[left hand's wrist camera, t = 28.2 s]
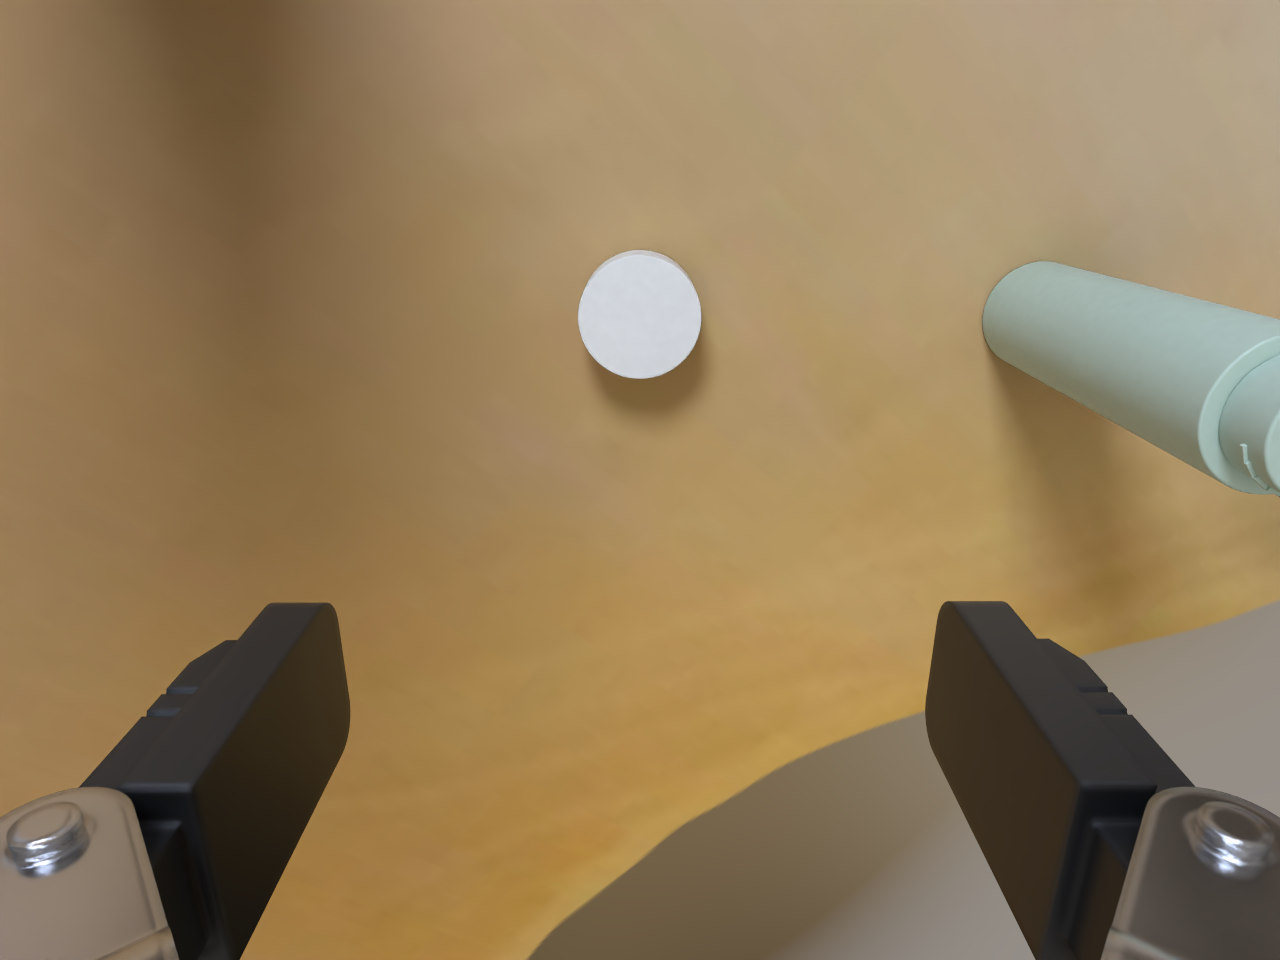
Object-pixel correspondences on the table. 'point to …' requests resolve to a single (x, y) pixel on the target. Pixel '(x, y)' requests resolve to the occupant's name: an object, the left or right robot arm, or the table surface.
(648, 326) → the lid
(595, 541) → the table surface
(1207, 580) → the table surface
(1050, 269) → the jar
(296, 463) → the table surface
